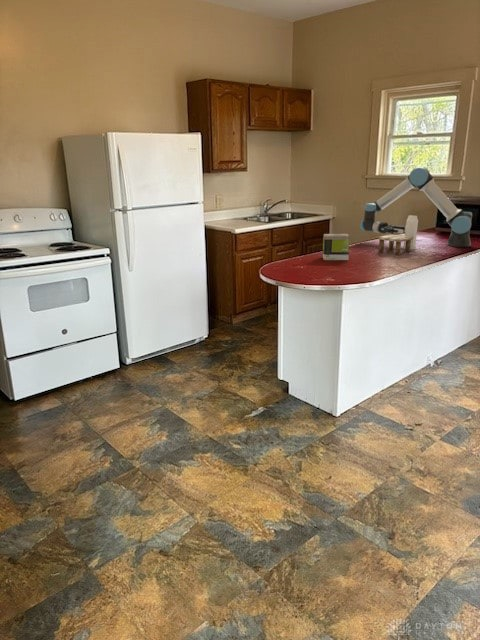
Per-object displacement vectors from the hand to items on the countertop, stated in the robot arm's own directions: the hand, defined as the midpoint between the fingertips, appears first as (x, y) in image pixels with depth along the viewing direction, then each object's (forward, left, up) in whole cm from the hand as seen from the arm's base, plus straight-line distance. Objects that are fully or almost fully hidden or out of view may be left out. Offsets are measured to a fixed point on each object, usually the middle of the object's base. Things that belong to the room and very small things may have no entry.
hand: (408, 230), depth 330 cm
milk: (-2, 0, -12) cm, 12 cm away
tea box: (+11, +64, -12) cm, 66 cm away
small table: (-2, +19, -12) cm, 22 cm away
